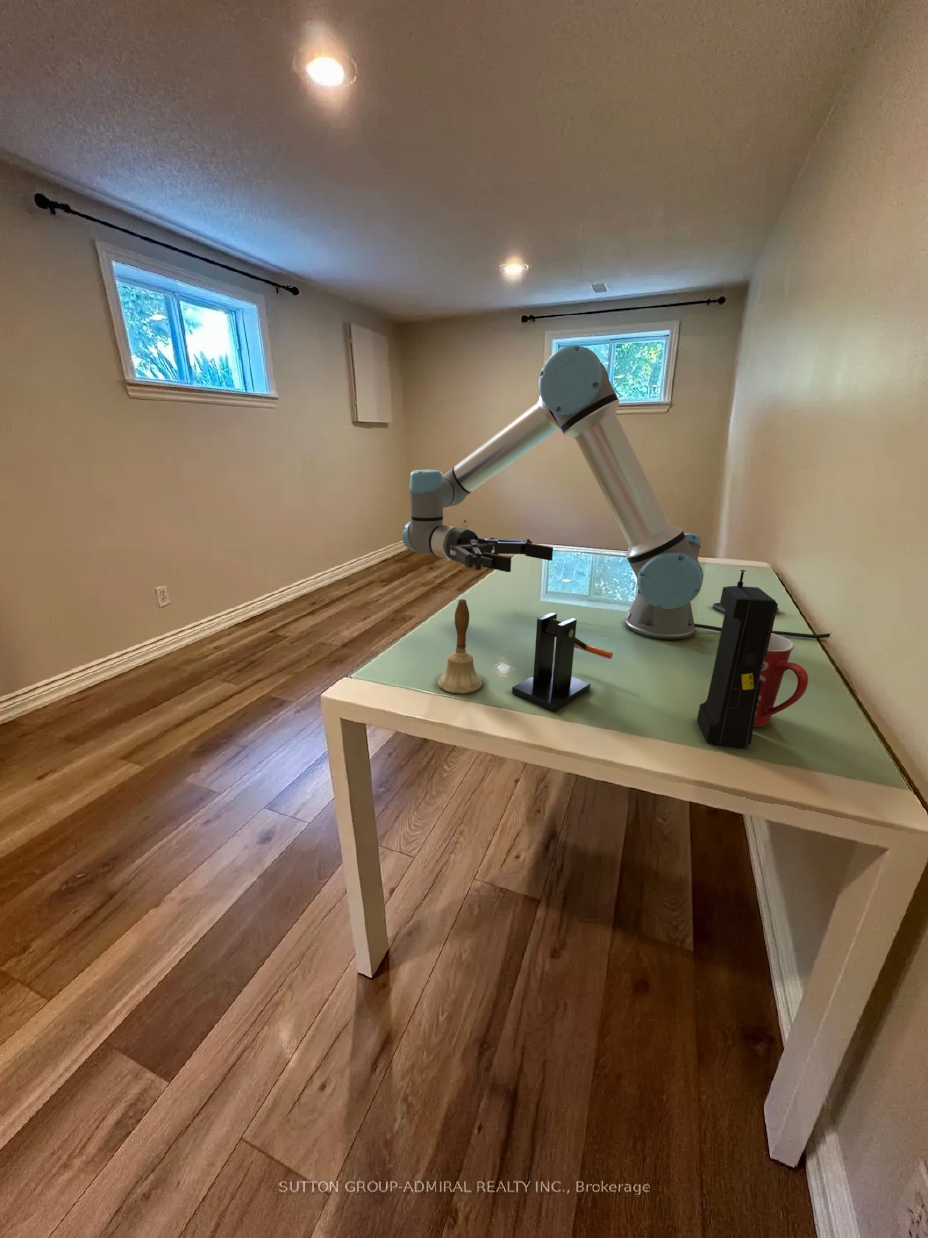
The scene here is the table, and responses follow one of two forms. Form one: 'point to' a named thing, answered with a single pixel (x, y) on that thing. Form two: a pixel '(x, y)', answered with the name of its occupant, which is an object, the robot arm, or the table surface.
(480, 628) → the table surface
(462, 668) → the hand bell
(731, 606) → the portable radio
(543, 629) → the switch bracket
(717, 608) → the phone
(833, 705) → the table surface
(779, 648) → the mug
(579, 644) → the switch lever
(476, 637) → the table surface
